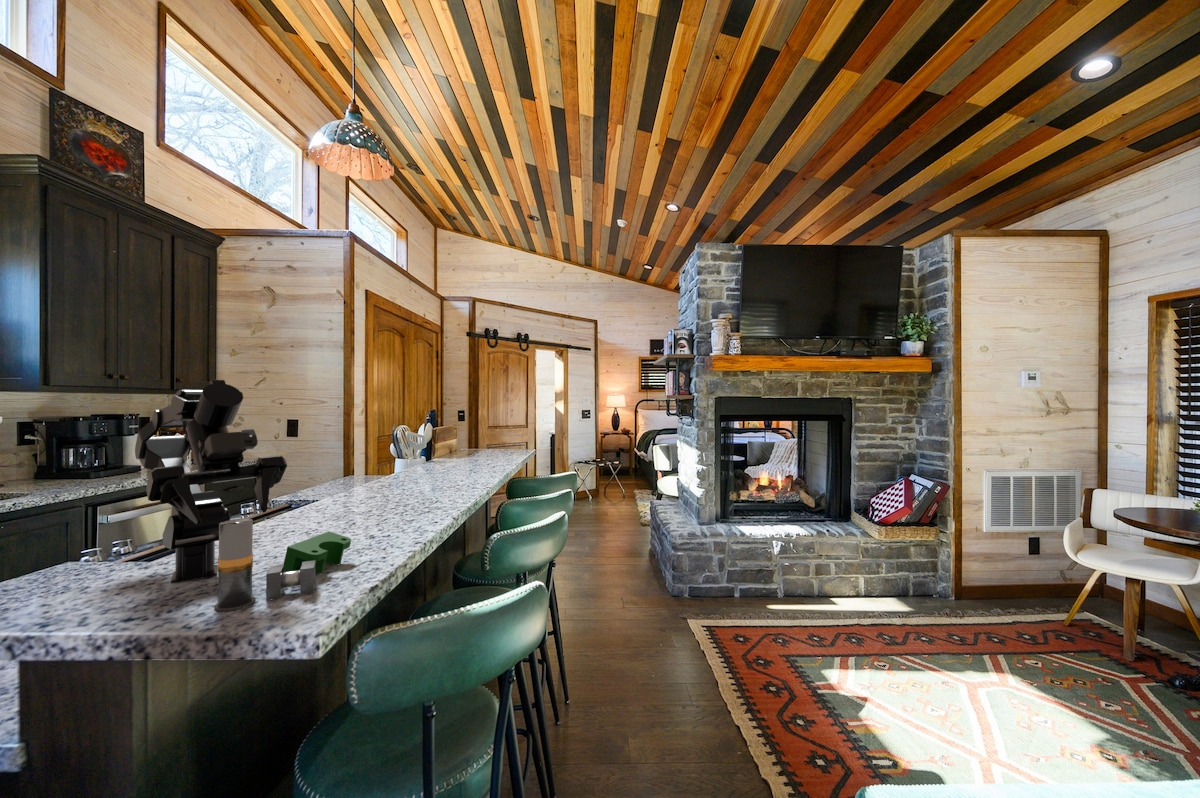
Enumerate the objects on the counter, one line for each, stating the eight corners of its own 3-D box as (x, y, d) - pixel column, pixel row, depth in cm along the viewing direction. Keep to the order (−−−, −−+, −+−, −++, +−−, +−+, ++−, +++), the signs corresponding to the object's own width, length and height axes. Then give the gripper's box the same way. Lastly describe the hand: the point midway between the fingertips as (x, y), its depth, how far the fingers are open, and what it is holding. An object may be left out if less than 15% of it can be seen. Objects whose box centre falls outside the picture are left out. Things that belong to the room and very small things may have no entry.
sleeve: (220, 599, 80) (221, 520, 80) (254, 595, 82) (255, 517, 83) (214, 610, 76) (215, 526, 76) (250, 604, 78) (251, 523, 79)
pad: (214, 603, 80) (214, 601, 80) (255, 595, 83) (255, 593, 83) (213, 614, 76) (213, 612, 76) (256, 605, 79) (256, 604, 79)
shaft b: (266, 600, 81) (266, 573, 81) (270, 591, 85) (270, 565, 85) (313, 593, 84) (313, 567, 84) (315, 584, 88) (315, 560, 88)
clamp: (312, 598, 93) (308, 562, 89) (284, 589, 94) (279, 552, 90) (355, 556, 104) (353, 522, 100) (330, 548, 105) (327, 514, 101)
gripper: (148, 417, 77) (168, 498, 70) (282, 412, 91) (308, 478, 85) (139, 461, 82) (156, 541, 75) (267, 450, 97) (290, 515, 90)
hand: (233, 516), depth 81 cm, fingers open, 9 cm apart
